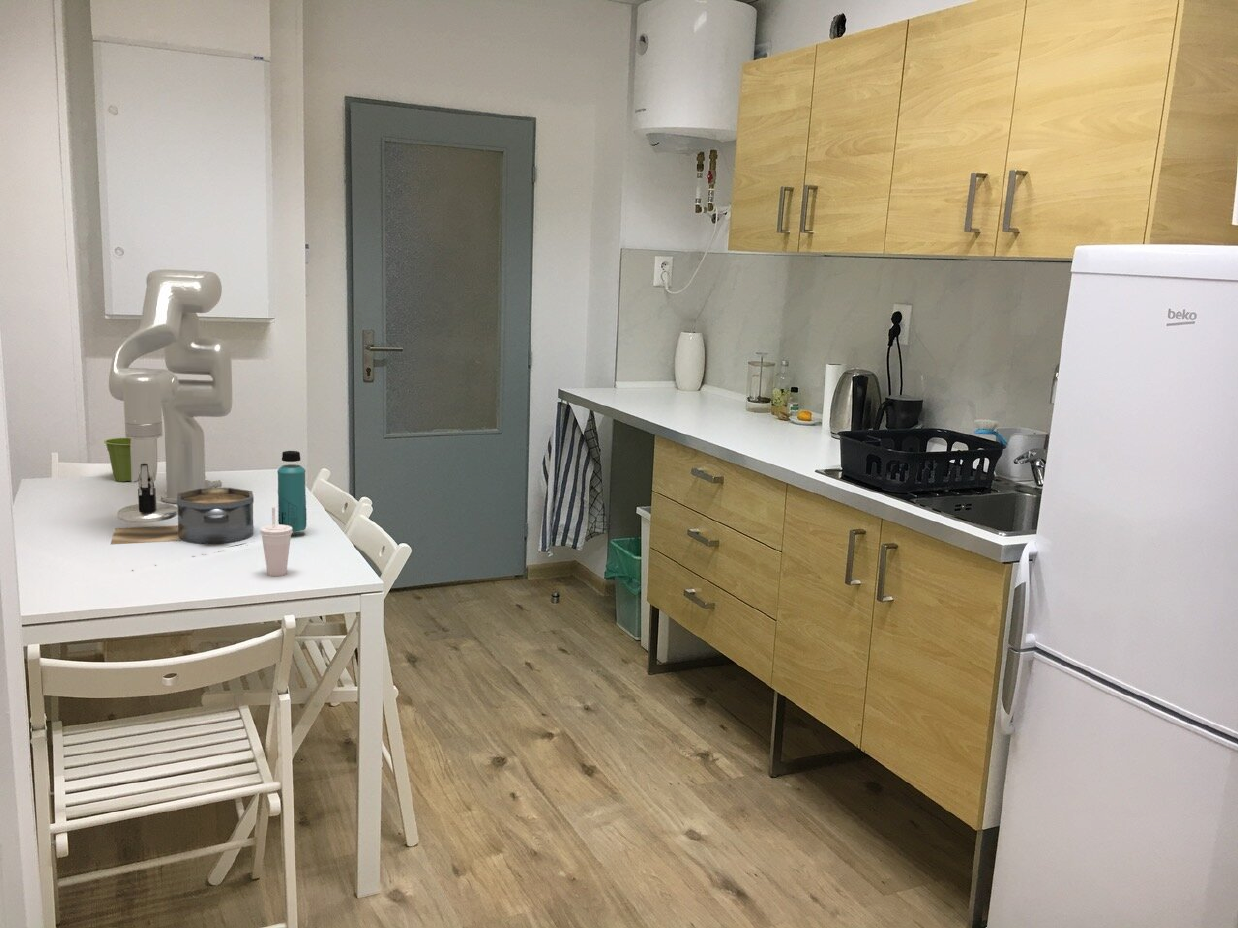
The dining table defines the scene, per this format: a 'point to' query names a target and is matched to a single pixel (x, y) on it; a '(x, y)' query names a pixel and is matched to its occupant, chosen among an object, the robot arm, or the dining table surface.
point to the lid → (159, 514)
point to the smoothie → (276, 546)
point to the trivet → (145, 534)
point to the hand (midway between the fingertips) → (147, 508)
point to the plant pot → (120, 458)
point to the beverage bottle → (292, 493)
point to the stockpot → (215, 515)
